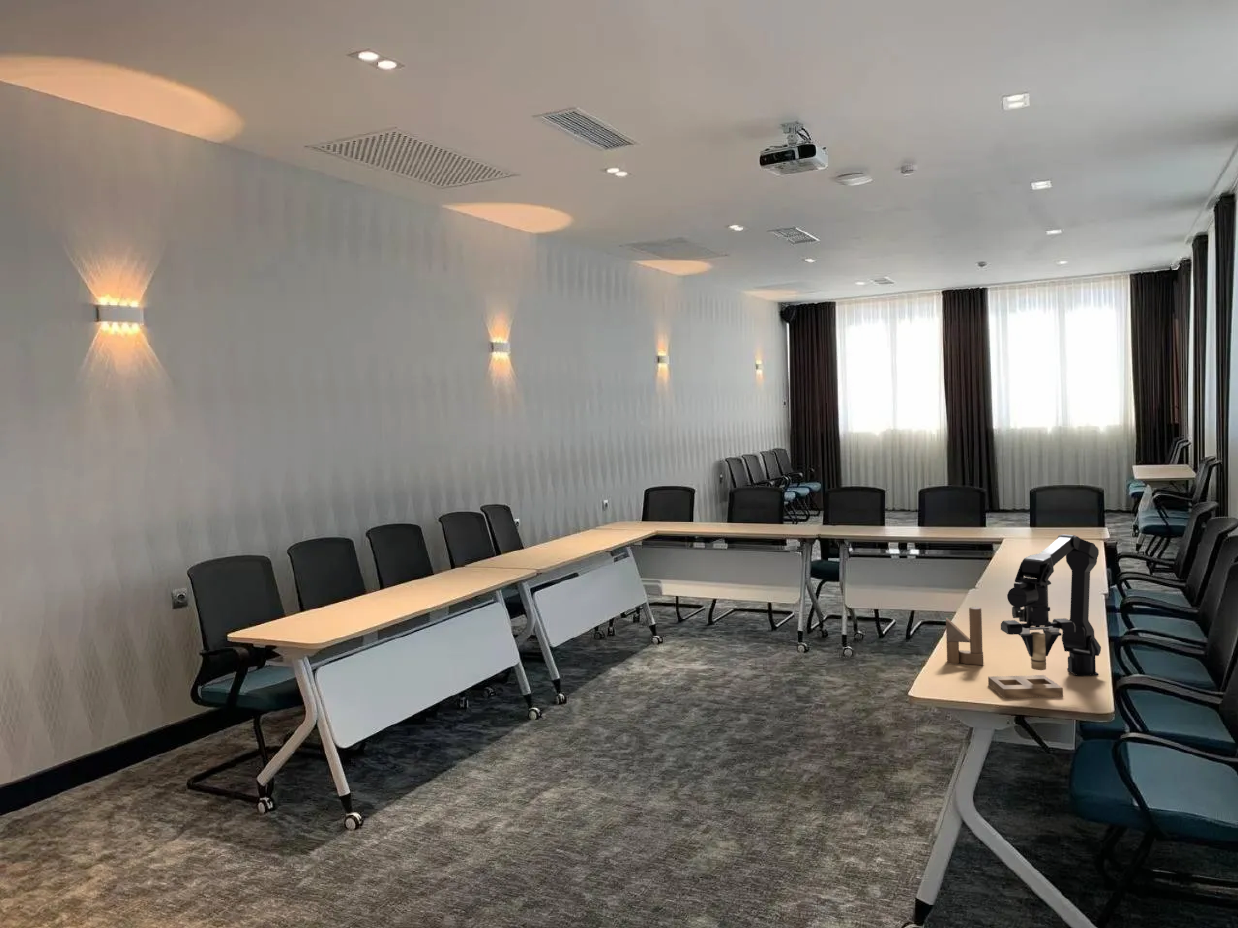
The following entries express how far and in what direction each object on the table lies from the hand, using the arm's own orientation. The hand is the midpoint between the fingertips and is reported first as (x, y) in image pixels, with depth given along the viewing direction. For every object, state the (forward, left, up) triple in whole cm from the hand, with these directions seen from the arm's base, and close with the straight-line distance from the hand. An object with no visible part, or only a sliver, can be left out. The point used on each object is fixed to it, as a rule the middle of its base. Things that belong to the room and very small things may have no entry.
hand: (1038, 656), depth 247 cm
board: (+4, 0, -10) cm, 11 cm away
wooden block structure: (+11, -29, -10) cm, 33 cm away
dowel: (0, 0, -4) cm, 4 cm away
